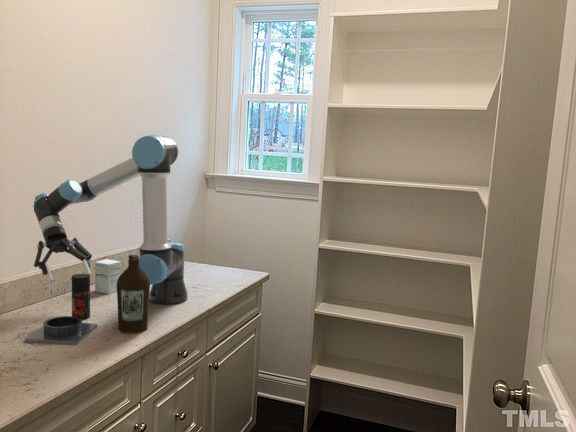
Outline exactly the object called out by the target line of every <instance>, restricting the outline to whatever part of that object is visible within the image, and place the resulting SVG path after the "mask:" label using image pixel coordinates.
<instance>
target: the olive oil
mask: <svg viewBox="0 0 576 432" xmlns="http://www.w3.org/2000/svg"><path fill="white" fill-rule="evenodd" d="M139 257H140V255H138V254H130V255H128V263H127V264H128V266H127V268H126V269H125V270H124V271H123V272H122V273H120V276H119V278H118V281H117V292H116V298H117V299H116V300H117V325H118V328H117V329H118V331H119V332H121V333H126V334H137V333H142V332H145V331H146V330H147V329H148V326H149V324H148V323H149V307H150V306H149V304H150V300H149V293H150V290H151V284H150V281H149V278H148V276H147V275H146V273H145V272H144V271H143V270H142V269H141V268H140V267H139V259H138V258H139Z"/></svg>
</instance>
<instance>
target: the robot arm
mask: <svg viewBox="0 0 576 432" xmlns="http://www.w3.org/2000/svg"><path fill="white" fill-rule="evenodd" d="M131 156H132V157H131V158H128V159H127V160H124V161H122V162H121V163H118V164H116V165H114V166H112V167H110V168H108V169H106V170H104V171H102V172H99V173H98V174H96V175H93V176H92V177H90V178H87V179H85V180H84V181H82V182H80V183H78V182H77V181H75V180H73V179H68V180H65V181H64V182H61V183H60V185H59V186H58V187H57V188H55V189H54V190H53V191H51V192H50V193H44V192H43V193H40V194H37V195H35V196H36V197H35V196H34V197H35V201H34V206H33V205H32V208H33V207H34V210H33V211H34V215H35V216H36V220H37V221H38V225H39V227H40V230H41V233H42V236H43V239H44V242H43V241H42V240H39V241H38V243H37V245H36V247H37V252H36V256H35V259H34V263H33V267H34V268H37V267H38V268H39V270H41V273H42V276H43V275H44V276H45V277H46V279H47V281H48V284H52V283H53V281H54V277H53V275H52V271H51V268H50V266H49V263H47V262H48V260H49V259H50V258H51V255H52V254H53V253H55V254H59V253H67V254H70V256H71V255H72V256H73V257H74V258H76V259H78V260H80V261H81V265H82V268H83V271H84V274H89V275H90V276H91V275H92V271H91V270H90V269H91V264H90V260H91V259H92V257H93V255H92V254H91V252H89V250H87V249H86V247H84V246H83V245H82V244H81V243H80V242H79V240H78V238H76V237H74V238H73V239H69V238H68V236H67V233H66V230H65V228H64V224H63V222H62V220H61V216H60V215H59V214H60V213H61V212H62V211H63V210H64V209H66V208H67V207H68V206H70V205H74V204H80V203H88V202H90V201H93V200H95V198H96V197H99V196H100V195H103V194H104V193H106V192H108V191H110V190H113V189H115V188H116V187H119V186H121V185H123V184H125V183H127V182H130V181H131V180H134V179H136V178H138V177H141V186H142V187H141V188H142V189H141V190H142V194H141V196H142V231H143V233H142V237H143V238H142V239H143V242H142V244H140V246H138V247H139V249H138V251H139V252H138V253H139V258H138V259H139V267H140V268H141V269H142V270H143V271H144V272H145V273H146V275H147V276H148V278H149V281H150V285H151V286H150V293H149V302H152V303H155V304H161V305H172V304H173V305H174V304H180V303H183V302H186V301H187V300H188V295H189V294H188V293H189V292H188V290H187V289H188V288H187V287H186V284H185V280H184V279H185V278H184V275H185V272H184V271H185V252H186V251H185V246H184V244H183V243H179V242H171V241H169V242H168V215H167V214H168V211H167V210H168V209H167V208H168V204H167V178H168V176H169V175H170V174H171V165H173V164H175V162H176V161H177V159H178V156H179V148H178V146H177V144H176V142H175V141H174V140H173V139H172V138H170V137H167V136H162V135H153V134H151V135H144V136H142V137H140V138H138V139H136V141H135V142H134V144H133V147H132V149H131ZM46 199H47V200H46ZM45 247H46V248H47V249H48V251H47V253H46V254H45V256H44V257H43V259H42V261H41V256H42V255H43V254H42V253H43V250H44V249H45Z"/></svg>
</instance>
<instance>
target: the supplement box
mask: <svg viewBox="0 0 576 432" xmlns="http://www.w3.org/2000/svg"><path fill="white" fill-rule="evenodd" d="M94 264H95V265H94V266H95V267H94V270H95V271H94V292H95V293H100V294H101V293H102V294H107V295H111V294H113V293H114V294H115V293H117V281H118V278H119V276H120V275H121V265H122V262H121V261H118V260H112V259H107V258H106V259H103V260H98V261H95V263H94Z"/></svg>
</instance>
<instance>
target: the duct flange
mask: <svg viewBox="0 0 576 432" xmlns="http://www.w3.org/2000/svg"><path fill="white" fill-rule="evenodd" d="M82 321H83V320H81V318H78V317H75V316H72V315H61V316H56V317H52V318H48V319H46V320H45V321H44V322H43V325H42V326H41V327H40V328H38V329H37V330H35V331H33V332H32V333H31V334H30V335H28V336H26V337H25V338H24V342H25V343H38V344H39V343H41V344H42V343H43V344H54V345H55V344H58V345H72V346H73V345H76V346H77V345H78V344H79V343H80V342H82V341H83V340H84V339H86V337H88V335H89V334H91V333H92V332H93V331H94V330H95V329H97V328H98V323H91V322H82Z"/></svg>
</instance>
